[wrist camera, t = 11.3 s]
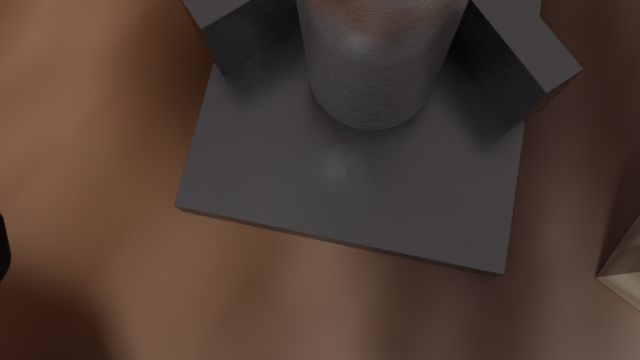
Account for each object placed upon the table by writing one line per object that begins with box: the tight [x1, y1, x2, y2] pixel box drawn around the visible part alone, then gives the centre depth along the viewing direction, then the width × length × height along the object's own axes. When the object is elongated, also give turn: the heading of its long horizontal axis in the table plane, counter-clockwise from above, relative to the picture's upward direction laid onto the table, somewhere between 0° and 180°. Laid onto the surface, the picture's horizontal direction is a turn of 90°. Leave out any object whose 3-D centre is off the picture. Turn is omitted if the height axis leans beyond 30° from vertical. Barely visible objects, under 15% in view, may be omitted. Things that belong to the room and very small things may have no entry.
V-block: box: [174, 0, 583, 277], centre depth 17 cm, size 10×11×4 cm
